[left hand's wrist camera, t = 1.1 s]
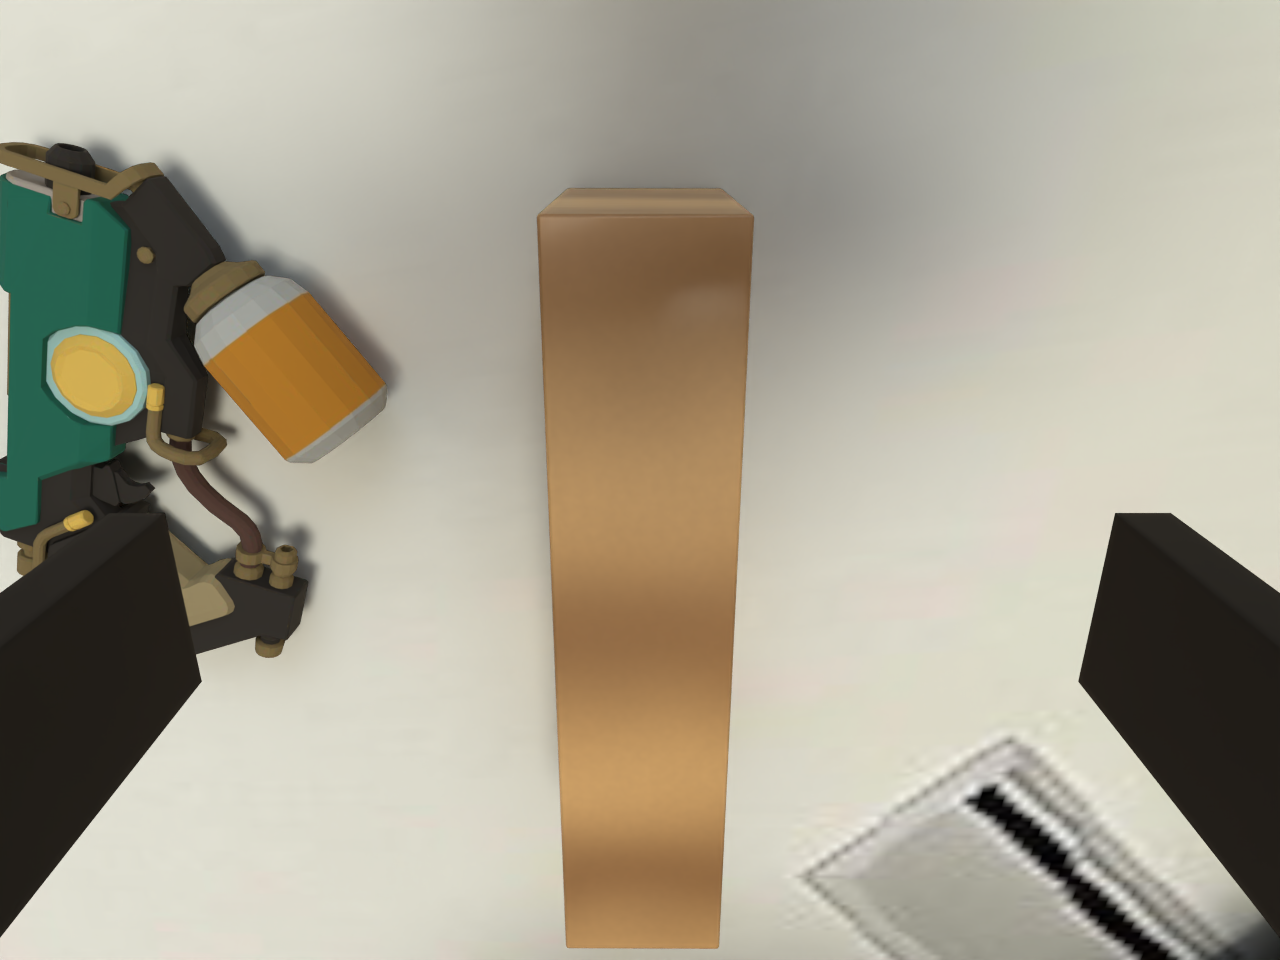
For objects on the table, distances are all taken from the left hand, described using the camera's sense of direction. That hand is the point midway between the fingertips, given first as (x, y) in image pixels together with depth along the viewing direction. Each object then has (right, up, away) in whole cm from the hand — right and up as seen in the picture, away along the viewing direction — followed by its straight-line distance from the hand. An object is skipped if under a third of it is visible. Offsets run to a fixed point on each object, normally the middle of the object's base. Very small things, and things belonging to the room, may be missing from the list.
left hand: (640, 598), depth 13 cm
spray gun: (-17, +4, +20) cm, 27 cm away
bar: (0, 0, +22) cm, 22 cm away
